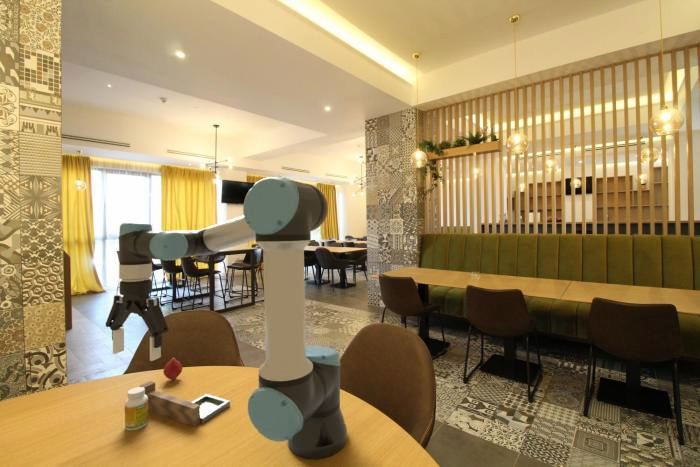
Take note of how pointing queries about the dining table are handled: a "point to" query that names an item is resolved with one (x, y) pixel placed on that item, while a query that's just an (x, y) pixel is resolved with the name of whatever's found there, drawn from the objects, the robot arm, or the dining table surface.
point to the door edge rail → (171, 406)
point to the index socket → (210, 406)
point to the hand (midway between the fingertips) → (136, 355)
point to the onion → (172, 369)
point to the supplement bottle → (136, 409)
